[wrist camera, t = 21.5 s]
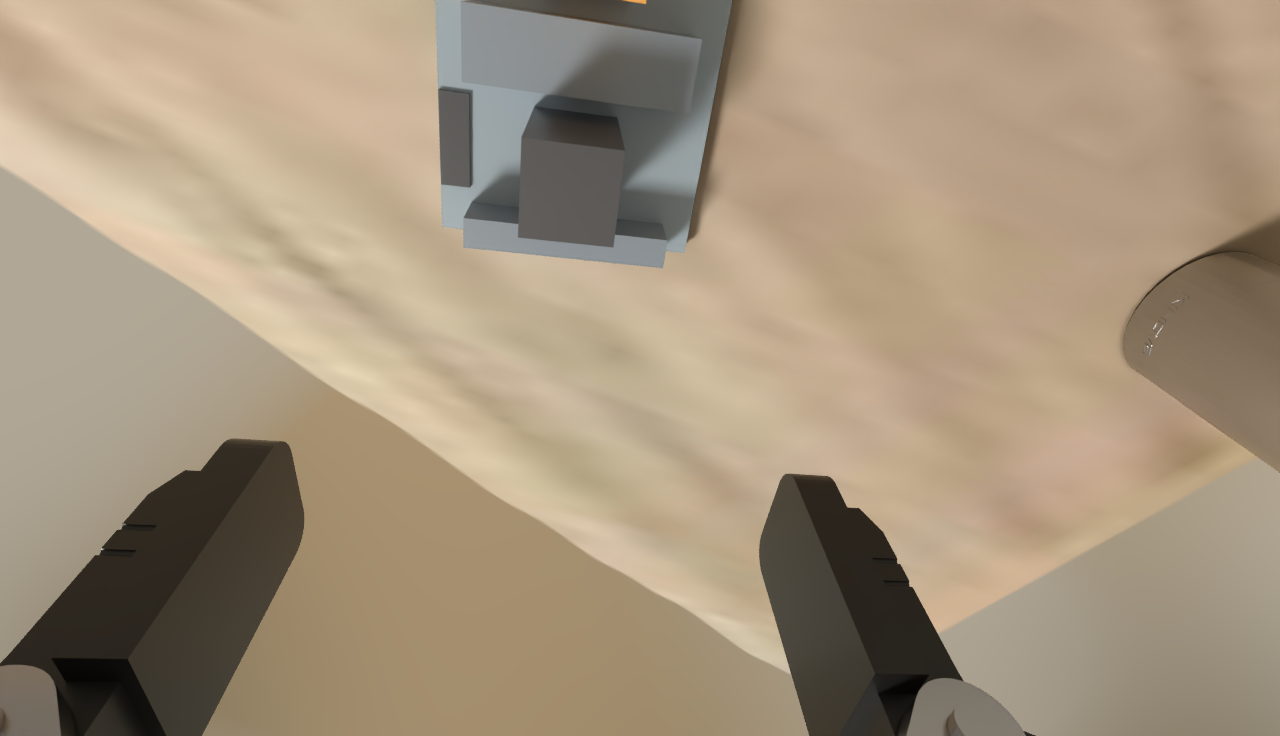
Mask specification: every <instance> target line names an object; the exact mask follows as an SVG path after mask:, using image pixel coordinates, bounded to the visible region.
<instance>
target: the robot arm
mask: <svg viewBox="0 0 1280 736" xmlns="http://www.w3.org/2000/svg"><path fill="white" fill-rule="evenodd" d="M1123 351H1124V355H1125V358H1126V360H1127V362H1128V363H1129V365H1130V366H1131V367H1132V368H1133V369H1135V370H1136V371H1137V372H1139V373H1140V374H1142V375H1143V376H1144V377H1146V378H1147V379H1149V380H1150V381H1151V382H1153V383H1154V384H1156V385H1157V386H1158V387H1160V388H1161V389H1163V390H1164V391H1165V392H1167V393H1168V394H1170V395H1171V396H1172V397H1174V398H1175V399H1177V400H1178V401H1179V402H1180V403H1182V404H1183V405H1184V406H1186V407H1187V408H1189V409H1190V410H1192V411H1193V412H1194V413H1196V414H1197V415H1199V416H1200V417H1201V418H1203V419H1204V420H1206V421H1207V422H1209V423H1210V424H1211V425H1213V426H1214V427H1216V428H1217V429H1219V430H1220V431H1221V432H1223V433H1224V434H1226V435H1227V436H1228V437H1230V438H1231V439H1233V440H1234V441H1236V442H1237V443H1238V444H1240V445H1241V446H1243V447H1244V448H1246V449H1247V450H1248V451H1250V452H1251V453H1253V454H1254V455H1255V456H1257V457H1258V458H1260V459H1261V460H1263V461H1264V462H1265V463H1267V464H1268V465H1270V466H1271V467H1273V468H1274V469H1275V470H1277V471H1278V472H1280V265H1277V264H1275V263H1272V262H1270V261H1267V260H1265V259H1262V258H1260V257H1257V256H1255V255H1252V254H1250V253H1243V252H1225V253H1219V254H1215V255H1211V256H1207V257H1204V258H1202V259H1199V260H1197V261H1195V262H1193V263H1190V264H1188V265H1186V266H1185V267H1183V268H1181V269H1180V270H1178V271H1176V272H1175V273H1173V274H1171V275H1170V276H1169V277H1168V278H1166V279H1165V280H1164V281H1163V282H1161V283H1160V284H1159V285H1157V286H1156V287H1155V288H1154V289H1153V290H1152V291H1151V292H1150V293H1149V294H1148V295H1147V296H1146V297H1145V299H1144V300H1143V301H1142V303H1141V304H1140V305H1139V307H1138V308H1137V309H1136V311H1135V312H1134V314H1133V316H1132V318H1131V320H1130V321H1129V323H1128V325H1127V329H1126V332H1125V335H1124V342H1123ZM303 529H304V510H303V506H302V500H301V496H300V491H299V486H298V481H297V477H296V472H295V467H294V462H293V457H292V453H291V449H290V447H289V445H288V444H287V443H286V442H282V441H266V440H250V439H229V440H227V441H226V442H224V443H223V444H222V445H221V446H220V447H219V449H218V450H217V451H216V452H215V454H214V455H213V456H212V458H211V459H210V460H209V461H208V463H207V464H206V465H205V466H204V467H203V469H202V470H201V471H187V470H185V471H183V472H182V473H180V474H179V475H177V476H176V477H174V478H173V479H171V480H170V481H168V482H167V483H165V484H163V485H162V486H160V487H159V488H157V489H156V490H154V491H153V492H151V493H150V494H148V495H147V496H146V498H145V499H144V500H143V501H142V502H141V503H140V504H139V505H138V507H137V508H136V509H135V510H134V511H133V513H132V514H131V515H130V516H129V517H128V518H127V519H126V520H125V522H124V523H123V527H122V529H121V530H117V531H116V532H115V533H114V534H113V535H112V537H111V538H110V539H109V540H108V541H107V542H106V543H105V545H104V546H103V547H102V548H101V553H100V555H95V556H94V558H92V560H91V561H90V562H89V563H88V564H87V565H86V567H85V568H84V569H83V570H82V571H81V572H80V573H79V575H78V576H77V577H76V578H75V579H74V580H73V581H72V583H71V584H70V585H69V586H68V587H67V588H66V590H65V591H64V592H63V593H62V594H61V596H59V598H58V599H57V600H56V601H55V602H54V603H53V604H52V606H51V607H50V608H49V609H48V610H47V611H46V612H45V614H44V615H43V616H42V617H41V618H40V619H39V621H38V622H37V623H36V624H35V625H34V626H33V628H32V629H31V630H30V631H29V632H28V633H27V635H26V636H25V637H24V638H23V639H22V640H21V641H20V643H19V644H18V645H17V646H16V647H15V648H14V649H13V650H12V652H11V653H10V654H9V655H8V656H7V657H6V658H5V659H4V660H3V661H2V662H1V663H0V736H202V734H203V732H204V730H205V728H206V726H207V725H208V723H209V721H210V719H211V717H212V715H213V713H214V711H215V709H216V707H217V705H218V703H219V701H220V700H221V698H222V696H223V694H224V692H225V690H226V688H227V686H228V684H229V682H230V680H231V678H232V676H233V674H234V673H235V670H236V669H237V667H238V665H239V663H240V661H241V659H242V657H243V655H244V653H245V651H246V649H247V647H248V646H249V644H250V642H251V640H252V638H253V636H254V634H255V632H256V630H257V628H258V626H259V624H260V622H261V620H262V618H263V616H264V615H265V612H266V611H267V609H268V607H269V605H270V603H271V601H272V599H273V597H274V595H275V593H276V591H277V589H278V588H279V586H280V584H281V582H282V580H283V578H284V576H285V574H286V572H287V570H288V568H289V566H290V564H291V562H292V560H293V559H294V557H295V555H296V553H297V551H298V548H299V545H300V542H301V539H302V534H303ZM759 558H760V567H761V572H762V575H763V579H764V582H765V586H766V589H767V592H768V596H769V599H770V603H771V606H772V610H773V613H774V616H775V620H776V623H777V627H778V630H779V633H780V637H781V640H782V644H783V647H784V651H785V654H786V657H787V661H788V664H789V668H790V671H791V674H792V678H793V681H794V685H795V688H796V691H797V695H798V698H799V701H800V705H801V709H802V712H803V715H804V719H805V722H806V726H807V729H808V732H809V736H1035V735H1032V734H1030V733H1027V732H1025V731H1023V730H1022V728H1021V727H1020V725H1019V724H1018V723H1017V721H1016V720H1015V719H1014V718H1013V716H1012V715H1011V714H1010V713H1009V712H1008V710H1006V709H1005V708H1004V707H1003V706H1002V705H1001V704H1000V703H999V702H998V701H997V700H995V699H994V698H993V697H992V696H990V695H989V694H987V693H986V692H984V691H983V690H981V689H979V688H977V687H975V686H973V685H971V684H969V683H966V682H964V681H963V679H962V678H961V676H960V674H959V673H958V671H957V669H956V667H955V666H954V664H953V662H952V660H951V658H950V656H949V654H948V652H947V650H946V649H945V647H944V645H943V643H942V641H941V639H940V638H939V636H938V634H937V632H936V630H935V628H934V626H933V624H932V622H931V621H930V619H929V617H928V615H927V613H926V611H925V609H924V608H923V606H922V604H921V602H920V600H919V598H918V596H917V595H916V593H915V591H914V589H913V587H910V586H909V580H908V578H907V576H906V574H905V572H904V570H903V568H902V567H901V565H900V564H897V557H896V555H895V554H894V552H893V550H892V548H891V546H890V544H889V542H888V541H887V539H886V537H885V535H884V533H883V532H882V531H881V530H880V529H879V528H878V527H877V526H876V525H875V524H874V523H873V522H872V521H871V520H870V519H869V518H868V517H867V516H866V515H865V514H864V513H863V512H862V511H861V510H860V509H859V508H847V506H846V504H845V502H844V500H843V498H842V496H841V494H840V492H839V490H838V488H837V486H836V484H835V482H834V481H833V479H832V478H830V477H828V476H816V475H800V474H785V475H784V476H783V477H782V479H781V480H780V483H779V486H778V489H777V491H776V494H775V497H774V500H773V503H772V506H771V509H770V512H769V514H768V517H767V520H766V523H765V526H764V529H763V532H762V535H761V539H760V548H759Z"/></svg>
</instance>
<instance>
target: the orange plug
mask: <svg viewBox="0 0 1280 736" xmlns="http://www.w3.org/2000/svg"><path fill="white" fill-rule="evenodd" d="M623 1H630V2H636V3H643V4H646V0H623Z"/></svg>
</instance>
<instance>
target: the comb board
mask: <svg viewBox="0 0 1280 736" xmlns="http://www.w3.org/2000/svg"><path fill="white" fill-rule="evenodd" d="M731 5H732V0H646V4H643V3H636V2H630V1H623V0H435V6H436V38H437V71H438V103H439V136H440V168H441V200H442V227H447V228H456V229H463V235H464V248H473V249H482V250H492V251H502V252H512V253H521V254H531V255H541V256H550V257H560V258H570V259H579V260H589V261H599V262H608V263H618V264H628V265H637V266H647V267H657V268H663V264H664V258H665V252H666V251H670V252H679V253H685V247H686V242H687V237H688V232H689V226H690V221H691V216H692V211H693V205H694V200H695V195H696V190H697V184H698V179H699V174H700V168H701V163H702V158H703V153H704V147H705V142H706V137H707V132H708V126H709V121H710V116H711V110H712V105H713V100H714V95H715V89H716V84H717V79H718V74H719V68H720V63H721V58H722V53H723V47H724V42H725V37H726V31H727V26H728V21H729V16H730V10H731ZM534 106H536V107H544V108H551V109H559V110H566V111H573V112H581V113H588V114H596V115H603V116H611V117H617V118H618V122H619V127H620V131H621V135H622V139H623V143H624V148H625V157H624V165H623V173H622V182H621V190H620V198H619V206H618V215H617V223H616V231H615V239H614V247H603V246H594V245H584V244H574V243H565V242H555V241H546V240H536V239H526V238H518V221H519V192H520V163H521V137H522V135H523V132H524V130H525V128H526V125H527V123H528V120H529V118H530V116H531V113H532V111H533V108H534Z"/></svg>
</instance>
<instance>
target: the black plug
mask: <svg viewBox="0 0 1280 736" xmlns="http://www.w3.org/2000/svg"><path fill="white" fill-rule="evenodd" d="M624 157H625V148H624V143H623V139H622V135H621V131H620V127H619V122H618V118H617V117H611V116H603V115H596V114H588V113H581V112H573V111H566V110H559V109H551V108H544V107H536V106H534V108H533V111H532V113H531V116H530V118H529V120H528V123H527V125H526V128H525V130H524V132H523V135H522V137H521V163H520V192H519V221H518V238H526V239H536V240H546V241H555V242H565V243H574V244H584V245H594V246H603V247H614V239H615V231H616V223H617V215H618V206H619V198H620V190H621V182H622V173H623V165H624Z"/></svg>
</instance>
